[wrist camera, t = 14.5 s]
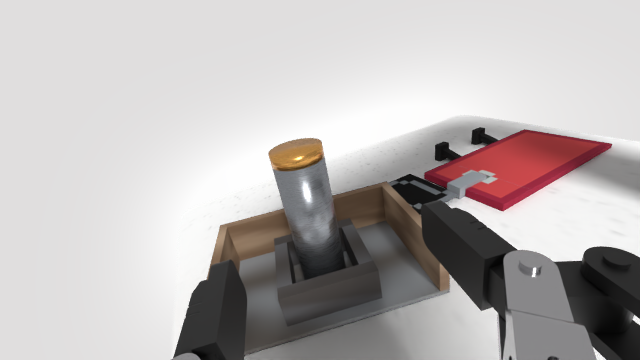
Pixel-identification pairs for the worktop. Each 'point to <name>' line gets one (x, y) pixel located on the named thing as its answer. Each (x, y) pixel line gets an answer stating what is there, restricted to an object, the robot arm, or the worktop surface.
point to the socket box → (337, 287)
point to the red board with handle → (498, 169)
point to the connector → (308, 205)
